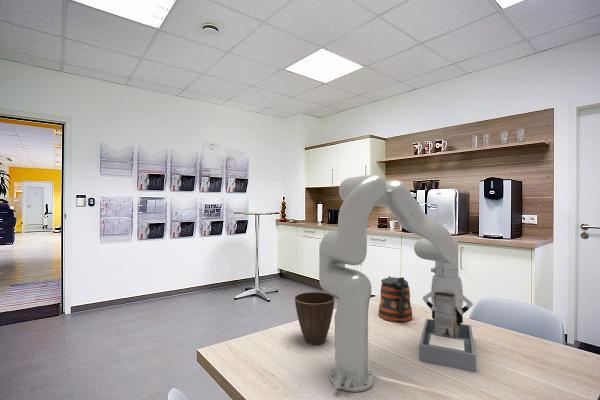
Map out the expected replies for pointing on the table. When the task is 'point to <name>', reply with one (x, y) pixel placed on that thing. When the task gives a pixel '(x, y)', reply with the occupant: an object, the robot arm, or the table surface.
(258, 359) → the table surface
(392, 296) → the beer stein
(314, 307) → the plant pot
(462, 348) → the cream rectangular block
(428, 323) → the tote
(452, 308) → the coffee box
